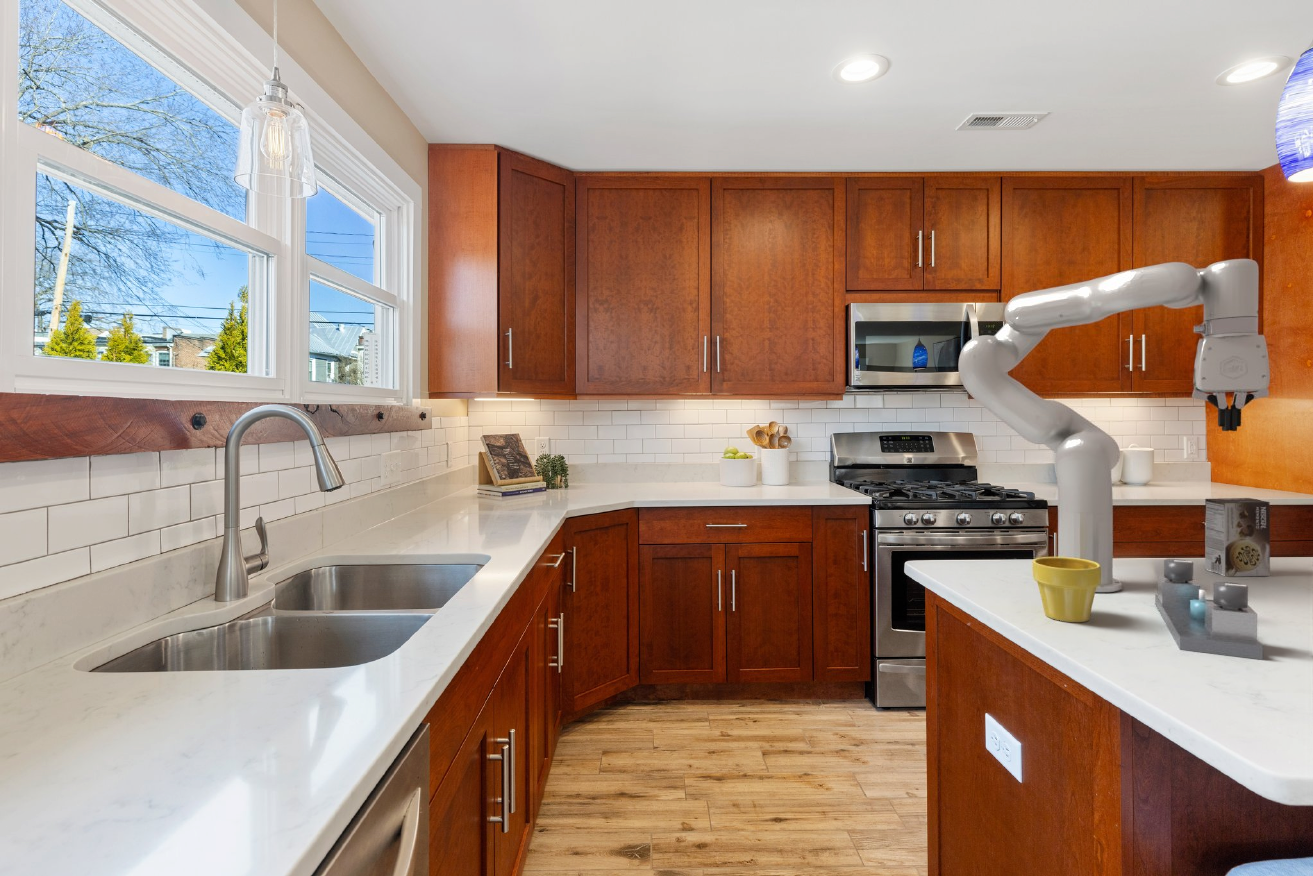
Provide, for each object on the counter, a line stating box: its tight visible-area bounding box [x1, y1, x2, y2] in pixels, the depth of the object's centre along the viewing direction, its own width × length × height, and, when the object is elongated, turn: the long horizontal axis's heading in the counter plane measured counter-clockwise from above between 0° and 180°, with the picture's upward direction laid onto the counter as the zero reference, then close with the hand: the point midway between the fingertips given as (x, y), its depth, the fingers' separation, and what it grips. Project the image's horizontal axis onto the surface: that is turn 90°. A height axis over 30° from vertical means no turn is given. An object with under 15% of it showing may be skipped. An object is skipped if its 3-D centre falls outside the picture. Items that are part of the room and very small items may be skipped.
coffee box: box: [1204, 497, 1271, 577], centre depth 146 cm, size 9×6×16 cm
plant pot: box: [1032, 556, 1101, 623], centre depth 118 cm, size 10×10×10 cm
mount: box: [1154, 575, 1264, 661], centre depth 111 cm, size 10×26×6 cm, turn 150°
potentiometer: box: [1190, 588, 1206, 620], centre depth 111 cm, size 3×3×4 cm
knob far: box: [1163, 558, 1194, 583], centre depth 118 cm, size 4×4×7 cm
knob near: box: [1212, 581, 1249, 610], centre depth 103 cm, size 4×4×7 cm
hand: (1229, 430), depth 123 cm, fingers closed
